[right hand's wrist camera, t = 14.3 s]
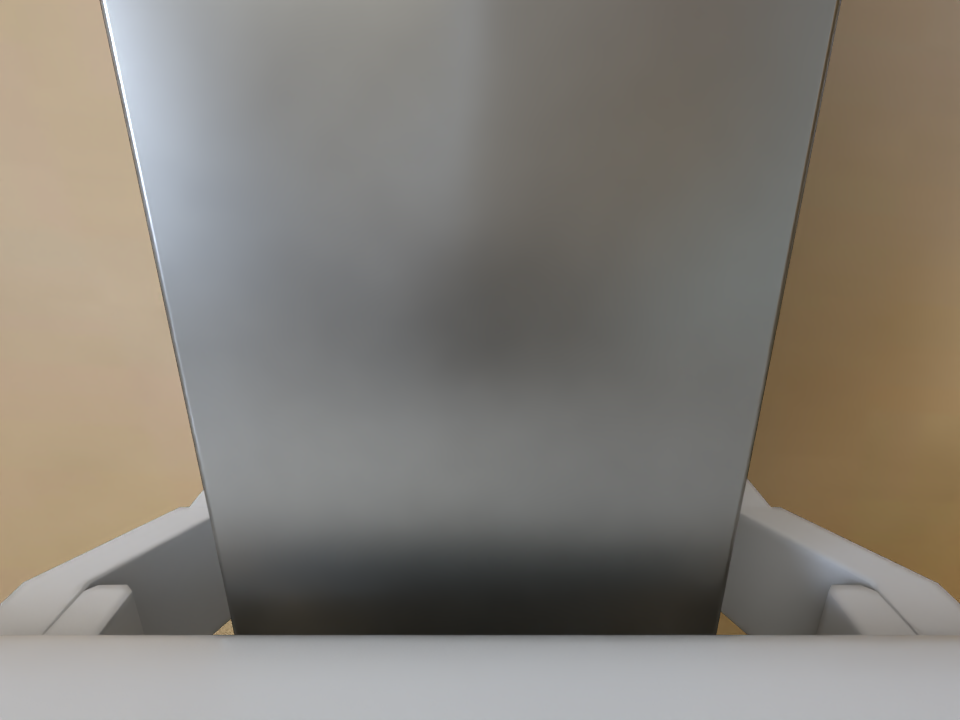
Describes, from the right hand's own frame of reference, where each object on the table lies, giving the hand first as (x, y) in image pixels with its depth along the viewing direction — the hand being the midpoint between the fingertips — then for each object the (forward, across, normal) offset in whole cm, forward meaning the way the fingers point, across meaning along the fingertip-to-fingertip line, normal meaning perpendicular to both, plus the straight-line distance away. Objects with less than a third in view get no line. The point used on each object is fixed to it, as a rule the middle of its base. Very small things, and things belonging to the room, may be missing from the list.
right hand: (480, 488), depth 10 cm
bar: (+4, 0, -8) cm, 9 cm away
